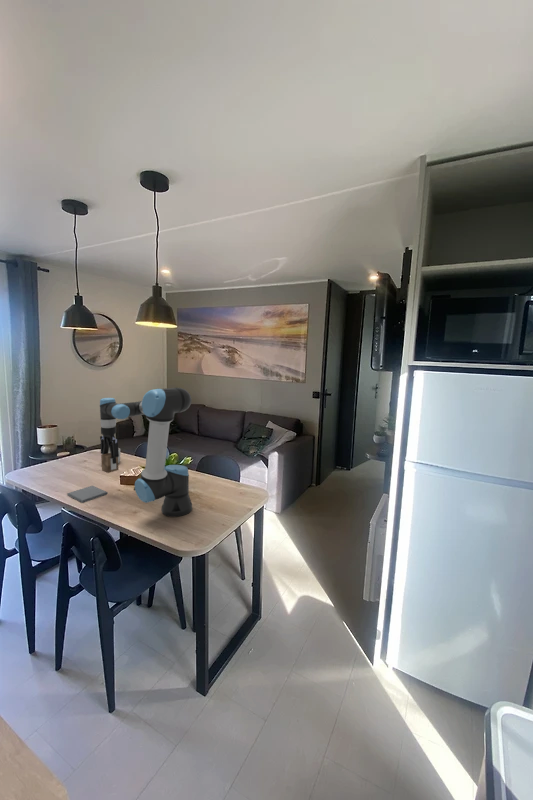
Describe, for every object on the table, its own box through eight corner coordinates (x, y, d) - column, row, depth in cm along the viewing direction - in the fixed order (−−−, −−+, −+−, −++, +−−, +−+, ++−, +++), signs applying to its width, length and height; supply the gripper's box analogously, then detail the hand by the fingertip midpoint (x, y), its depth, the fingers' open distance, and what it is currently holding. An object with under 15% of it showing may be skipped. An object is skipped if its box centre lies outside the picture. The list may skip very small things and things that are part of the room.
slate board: (107, 494, 181) (107, 491, 181) (82, 503, 170) (82, 500, 169) (92, 487, 190) (92, 485, 190) (67, 495, 178) (67, 493, 178)
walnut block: (118, 470, 177) (117, 454, 176) (108, 473, 172) (107, 456, 171) (112, 467, 180) (111, 452, 179) (101, 470, 175) (101, 454, 174)
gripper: (125, 427, 171) (126, 469, 174) (105, 423, 181) (106, 462, 184) (112, 430, 164) (113, 473, 167) (92, 425, 175) (93, 466, 178)
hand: (110, 467), depth 176 cm, fingers closed on walnut block, 6 cm apart
